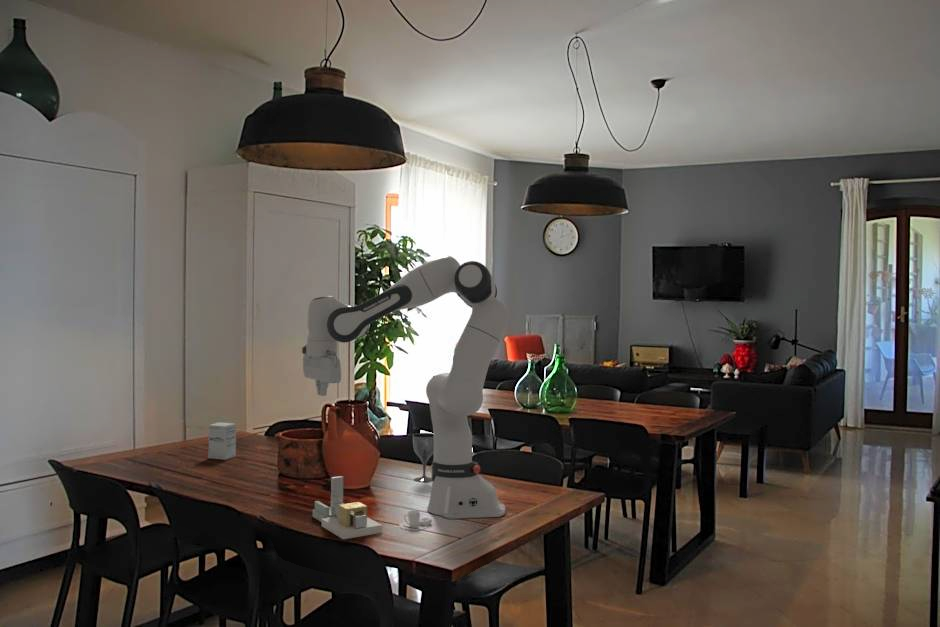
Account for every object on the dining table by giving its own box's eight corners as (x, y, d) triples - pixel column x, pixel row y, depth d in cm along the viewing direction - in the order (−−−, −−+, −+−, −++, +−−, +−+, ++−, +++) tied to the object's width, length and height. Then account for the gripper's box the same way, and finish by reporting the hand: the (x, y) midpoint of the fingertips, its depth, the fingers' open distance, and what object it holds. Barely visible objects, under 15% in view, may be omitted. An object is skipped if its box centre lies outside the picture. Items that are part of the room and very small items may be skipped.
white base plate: (321, 526, 213) (321, 518, 213) (358, 519, 219) (358, 512, 219) (343, 539, 201) (343, 531, 201) (382, 532, 208) (382, 524, 208)
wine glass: (408, 481, 264) (409, 436, 264) (417, 476, 272) (417, 432, 272) (431, 483, 262) (431, 437, 262) (439, 478, 270) (439, 433, 269)
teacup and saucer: (431, 523, 218) (432, 508, 218) (431, 531, 210) (431, 516, 210) (399, 523, 218) (399, 508, 218) (398, 531, 210) (398, 516, 210)
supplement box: (207, 458, 295) (207, 424, 295) (219, 455, 302) (219, 421, 302) (225, 460, 293) (225, 426, 293) (236, 456, 300) (236, 423, 300)
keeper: (338, 522, 209) (338, 504, 209) (358, 519, 212) (358, 501, 212) (346, 527, 205) (346, 509, 205) (366, 524, 208) (367, 506, 208)
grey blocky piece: (312, 516, 221) (312, 501, 221) (335, 513, 225) (335, 498, 225) (323, 523, 215) (323, 507, 215) (347, 519, 219) (347, 504, 219)
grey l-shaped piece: (330, 514, 216) (331, 477, 216) (341, 512, 218) (341, 476, 217) (355, 528, 203) (356, 489, 203) (366, 526, 205) (366, 487, 205)
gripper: (346, 351, 234) (346, 398, 234) (318, 347, 251) (318, 391, 251) (326, 352, 230) (326, 400, 231) (299, 347, 247) (299, 392, 248)
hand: (321, 395), depth 241 cm, fingers closed
